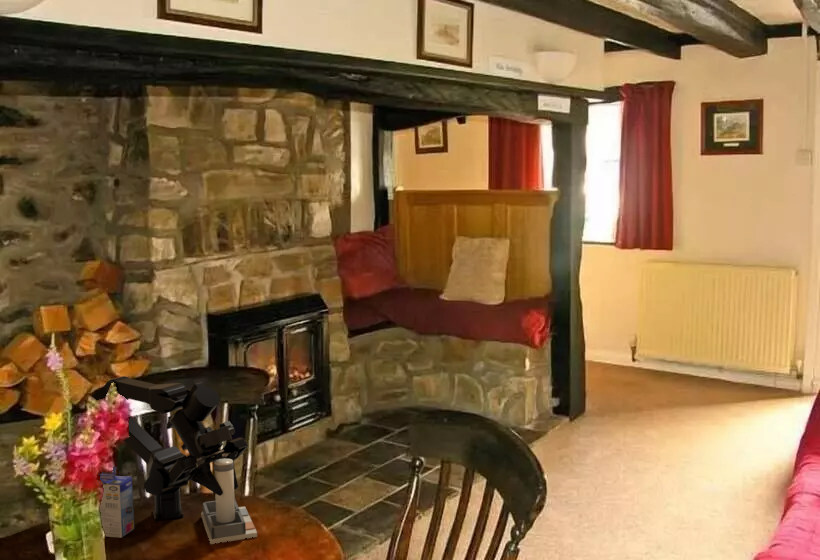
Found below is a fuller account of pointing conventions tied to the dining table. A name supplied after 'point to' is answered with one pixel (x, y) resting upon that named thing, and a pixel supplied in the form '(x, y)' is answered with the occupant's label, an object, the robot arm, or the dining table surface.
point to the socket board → (227, 524)
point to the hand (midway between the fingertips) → (229, 491)
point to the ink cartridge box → (117, 504)
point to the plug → (225, 490)
